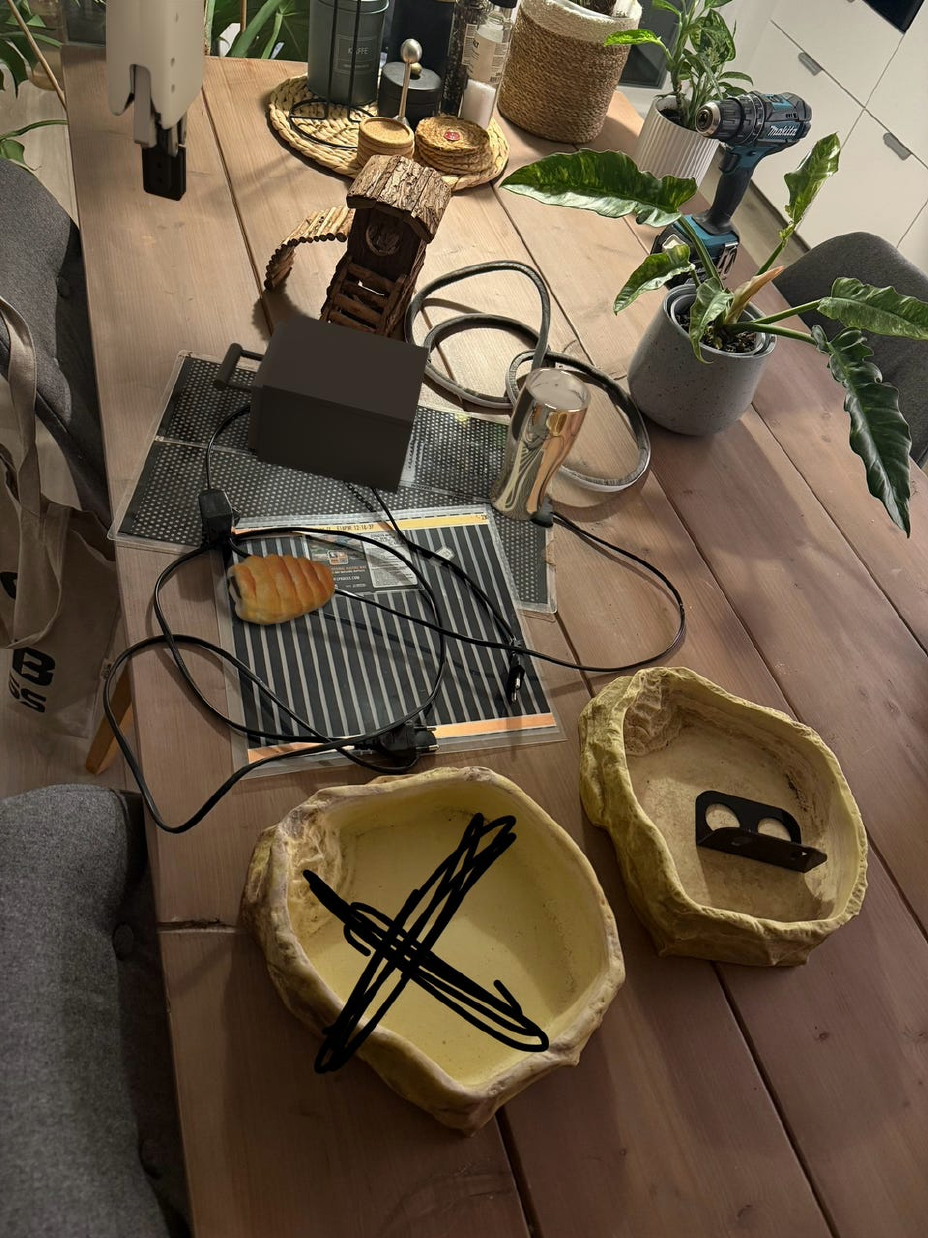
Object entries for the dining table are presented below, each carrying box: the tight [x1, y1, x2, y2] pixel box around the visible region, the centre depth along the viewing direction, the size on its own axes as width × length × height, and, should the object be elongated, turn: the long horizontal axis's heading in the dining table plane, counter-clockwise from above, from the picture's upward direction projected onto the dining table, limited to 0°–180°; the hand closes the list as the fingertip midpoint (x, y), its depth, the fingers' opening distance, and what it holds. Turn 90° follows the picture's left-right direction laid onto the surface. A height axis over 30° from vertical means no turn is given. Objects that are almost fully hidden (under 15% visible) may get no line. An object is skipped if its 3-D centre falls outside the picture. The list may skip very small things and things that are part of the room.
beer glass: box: [488, 367, 592, 521], centre depth 90 cm, size 7×7×15 cm
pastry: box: [226, 553, 336, 626], centre depth 78 cm, size 9×7×4 cm
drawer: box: [212, 320, 288, 450], centre depth 91 cm, size 18×11×8 cm, turn 84°
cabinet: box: [257, 312, 430, 494], centre depth 91 cm, size 15×13×10 cm
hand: (165, 192), depth 76 cm, fingers closed
